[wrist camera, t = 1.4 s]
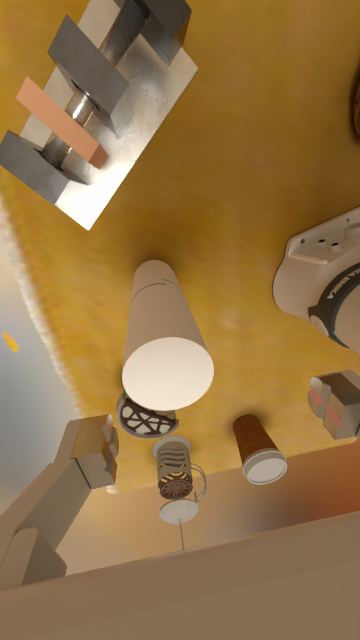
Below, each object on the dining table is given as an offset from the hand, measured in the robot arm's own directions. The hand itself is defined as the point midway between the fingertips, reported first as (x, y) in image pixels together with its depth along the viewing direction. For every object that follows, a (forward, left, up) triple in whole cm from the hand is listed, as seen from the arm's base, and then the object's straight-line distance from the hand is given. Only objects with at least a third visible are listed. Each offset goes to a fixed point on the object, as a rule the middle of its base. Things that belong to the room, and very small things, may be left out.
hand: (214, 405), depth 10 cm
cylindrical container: (+4, +3, -33) cm, 33 cm away
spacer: (0, -17, -29) cm, 34 cm away
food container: (+20, +20, -33) cm, 44 cm away
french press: (+26, +41, -33) cm, 59 cm away
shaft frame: (-3, -18, -33) cm, 37 cm away
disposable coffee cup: (+8, +46, -33) cm, 58 cm away
